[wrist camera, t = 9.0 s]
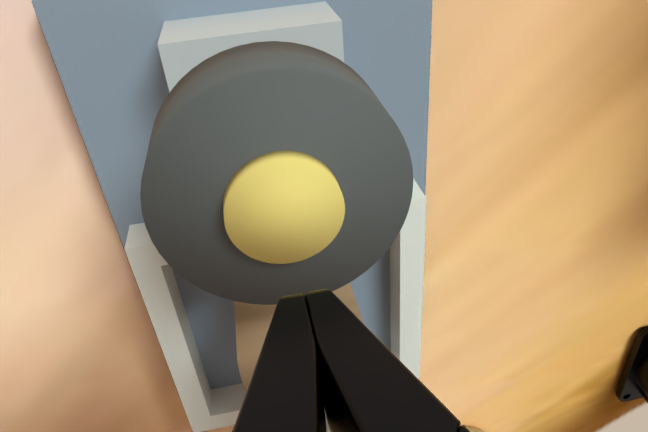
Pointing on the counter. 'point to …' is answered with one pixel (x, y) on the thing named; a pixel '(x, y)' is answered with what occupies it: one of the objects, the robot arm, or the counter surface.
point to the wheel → (274, 174)
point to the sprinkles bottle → (474, 429)
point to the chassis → (136, 127)
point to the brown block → (255, 325)
